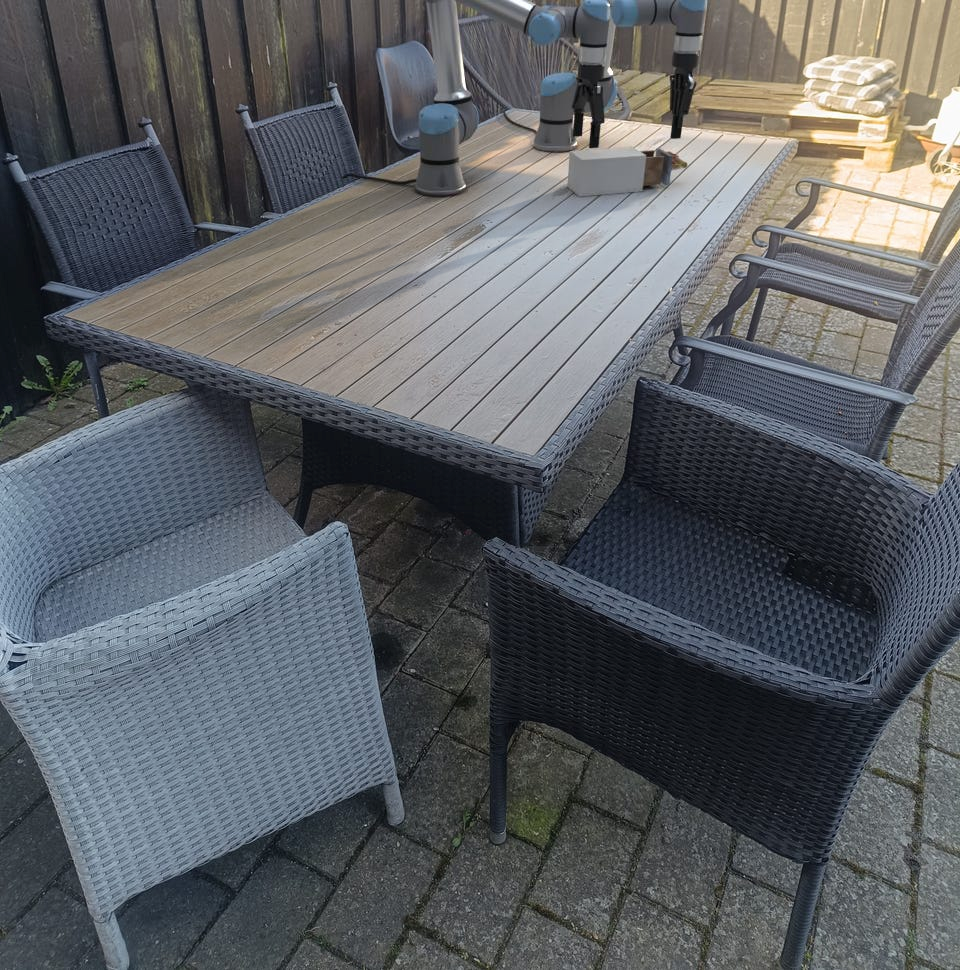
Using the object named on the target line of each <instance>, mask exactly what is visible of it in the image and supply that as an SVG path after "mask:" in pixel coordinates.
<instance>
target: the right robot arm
mask: <svg viewBox="0 0 960 970" xmlns="http://www.w3.org/2000/svg"><path fill="white" fill-rule="evenodd" d="M606 1H608V2H609V4H610V13H609V19H610V21H609V28H608V37H607V48H606V49H607V50H608V51H607V53H606V59H605V62H604V63H603V64H604V65H605V72H604V78H603V79H600V80H599V81H598V86H603V104H604V112H605V111H608V110H609V109H610V108H611V107H612V106H613V105H614V104H615V101H616V98H617V94H618V86H617V83H618V82H617V79H616V77H615V76H614V75H613V74H614V71H613V70H612V69H611V67H610V65H611V59H612V52H613V46H614V39H615V33H616V27H618V28H619V27H620V28H622V27H623V28H632V27H644V26H662V25H665V26H666V25H671V26H675V34H674V39H673V40H674V42H673V51H674V52H673V53H672V58H671V66H672V67H673V68H675V69H674V73H673V74H669V84H670V85H669V111H670V112H671V115H672V122H671V128H670V137H669V138H670V139H672V140H676V139H677V140H678V139H679V140H680V139H681V138H682V131H683V124H684V117H685V116H688V114H689V111H690V108H691V104H692V100H693V96H694V91H695V89H696V87H697V81H694V79H693V78H694V69H696V68H698V67H699V61H700V52H699V51H701V46H702V45H701V44H702V41H703V38H702V37H703V31H704V24H705V18H706V12H707V11H706V10H707V7H708V6H707V0H606ZM577 82H578V76H576V74H574V73H572V72H557V73H553V74H549V75H547V76H545V77H544V78H543V79H542V80H541V85H540V92H539V95H540V101H539V103H540V105H539V125H538V127H537V130H536V129H534V128H531V127H528V126H525V125H523V124H520V123H517V122H515V121H513V120H512V119H510V117H508V115H507V113H506V111H504V110H503V111H502V113H503V115H504V117H505V119H506V120H507V121H508V122H510V123H511V124H512V125H515V126H517V127H519V128H522V129H524V130H528V131H530V132H533V133H535V136H534V140H533V148H534V149H536V150H538V151H543V152H550V153H563V152H570V151H574V150H575V149H577V145H578V144H577V143H578V141H577V137H573V126H574V109H572V103H573V99H574V95H575V92H576V88H577ZM584 110H585V112H581V113H584V114H591V111H590V105H589V102H586V105H585V107H584Z"/></svg>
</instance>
